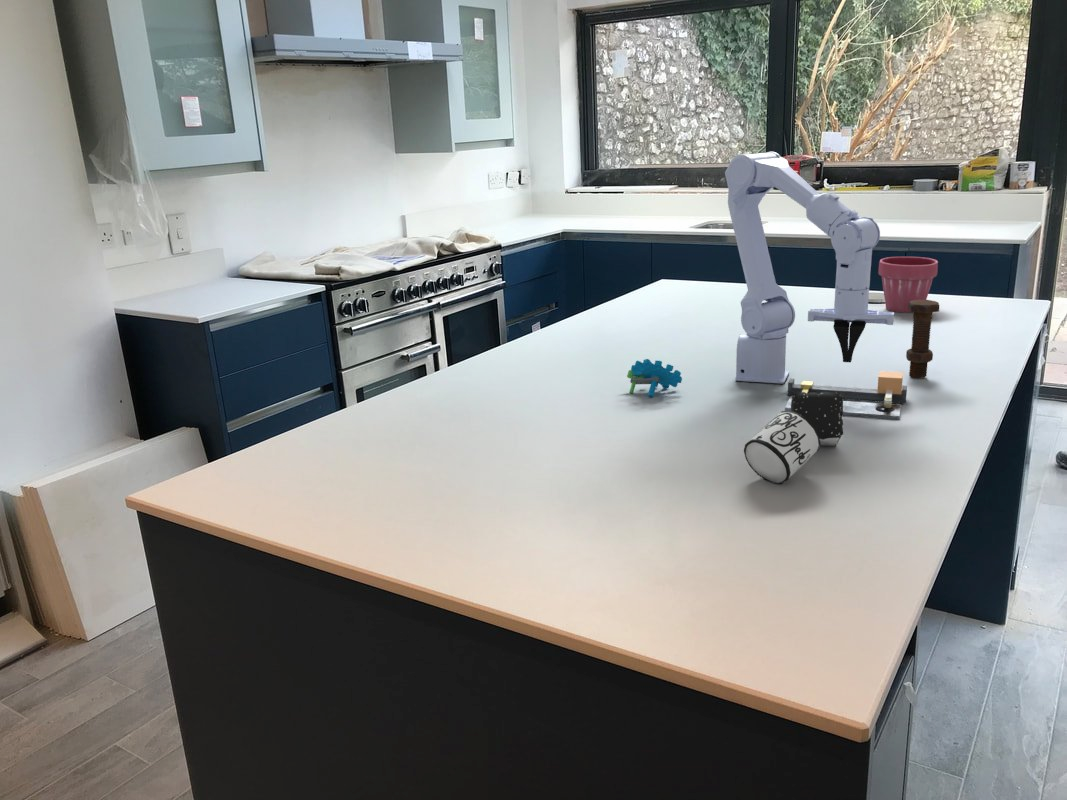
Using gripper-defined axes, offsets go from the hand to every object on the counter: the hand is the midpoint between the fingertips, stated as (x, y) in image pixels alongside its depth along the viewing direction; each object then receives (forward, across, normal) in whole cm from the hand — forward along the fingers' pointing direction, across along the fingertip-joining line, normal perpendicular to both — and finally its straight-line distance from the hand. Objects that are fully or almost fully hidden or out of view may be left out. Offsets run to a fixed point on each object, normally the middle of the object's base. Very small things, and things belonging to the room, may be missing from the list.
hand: (847, 360), depth 161 cm
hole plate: (+7, 0, -7) cm, 10 cm away
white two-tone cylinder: (+7, -5, -35) cm, 36 cm away
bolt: (+7, +12, +16) cm, 22 cm away
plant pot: (+8, +8, +81) cm, 82 cm away
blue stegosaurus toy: (+8, -35, -5) cm, 36 cm away
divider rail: (+7, 0, -3) cm, 8 cm away
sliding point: (+6, +8, -3) cm, 10 cm away
